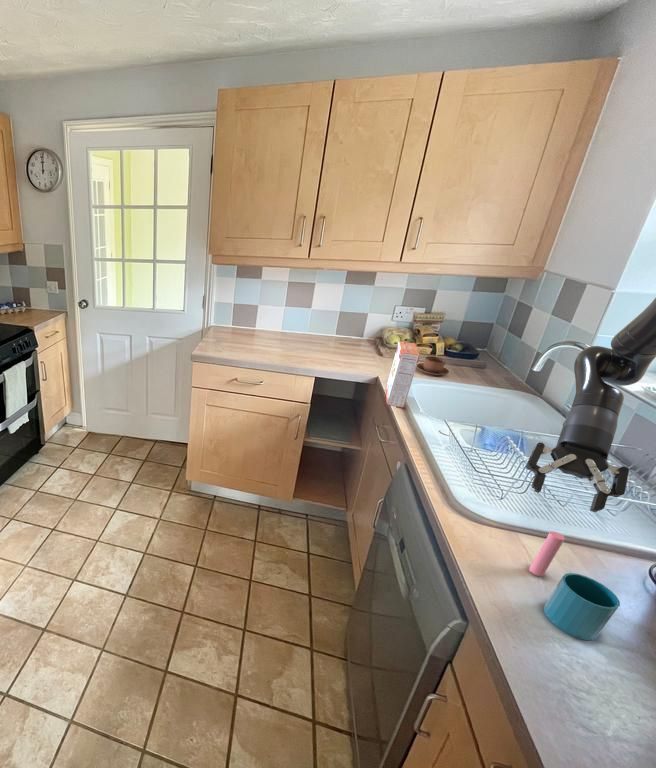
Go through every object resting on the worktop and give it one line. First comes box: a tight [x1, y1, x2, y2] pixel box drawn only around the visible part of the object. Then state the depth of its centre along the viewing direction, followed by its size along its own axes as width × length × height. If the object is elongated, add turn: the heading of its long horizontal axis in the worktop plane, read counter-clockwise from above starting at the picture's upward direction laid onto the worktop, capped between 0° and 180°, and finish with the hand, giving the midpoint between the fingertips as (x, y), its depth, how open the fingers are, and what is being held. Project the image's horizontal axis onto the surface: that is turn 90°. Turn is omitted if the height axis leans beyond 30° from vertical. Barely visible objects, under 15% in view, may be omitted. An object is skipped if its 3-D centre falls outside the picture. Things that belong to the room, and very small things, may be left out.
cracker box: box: [385, 341, 420, 409], centre depth 152 cm, size 14×6×21 cm, turn 154°
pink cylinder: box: [528, 530, 566, 577], centre depth 82 cm, size 2×2×10 cm
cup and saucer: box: [416, 356, 450, 376], centre depth 180 cm, size 12×12×6 cm
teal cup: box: [543, 572, 621, 641], centre depth 73 cm, size 7×7×8 cm
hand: (564, 500), depth 84 cm, fingers open, 8 cm apart
